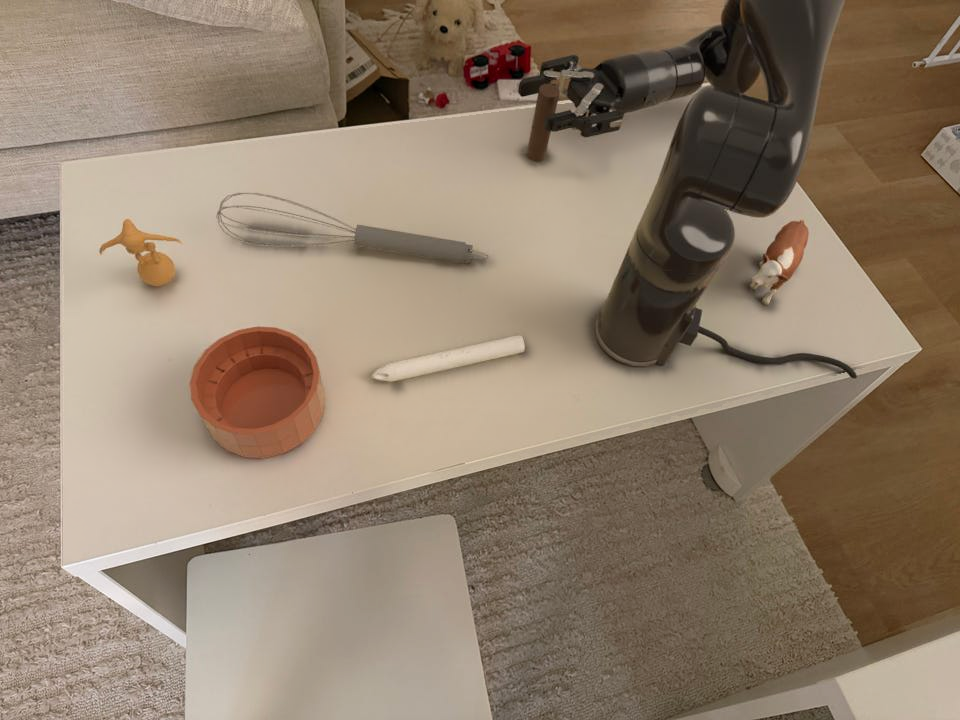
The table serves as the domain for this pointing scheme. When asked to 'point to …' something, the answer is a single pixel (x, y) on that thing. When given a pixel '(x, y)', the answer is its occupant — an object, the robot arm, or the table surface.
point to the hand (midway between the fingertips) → (532, 106)
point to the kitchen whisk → (372, 237)
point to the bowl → (258, 391)
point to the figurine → (151, 265)
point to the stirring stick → (542, 121)
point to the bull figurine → (781, 258)
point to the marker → (450, 359)
